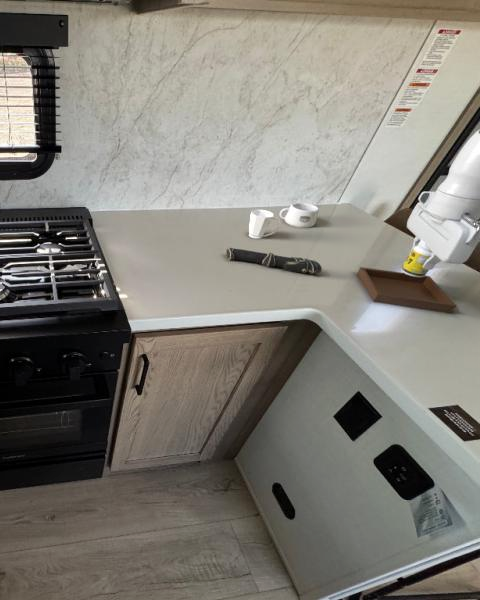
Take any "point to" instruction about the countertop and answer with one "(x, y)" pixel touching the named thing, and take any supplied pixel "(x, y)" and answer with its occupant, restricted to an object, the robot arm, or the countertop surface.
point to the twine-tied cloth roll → (275, 260)
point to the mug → (301, 215)
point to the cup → (261, 223)
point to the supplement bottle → (417, 260)
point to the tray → (404, 290)
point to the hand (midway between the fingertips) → (419, 261)
